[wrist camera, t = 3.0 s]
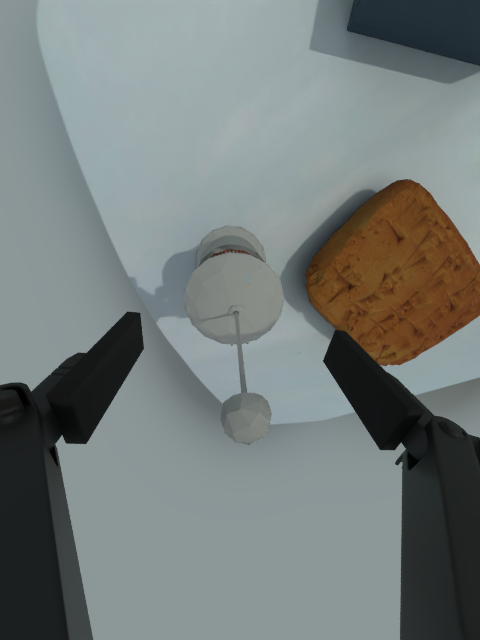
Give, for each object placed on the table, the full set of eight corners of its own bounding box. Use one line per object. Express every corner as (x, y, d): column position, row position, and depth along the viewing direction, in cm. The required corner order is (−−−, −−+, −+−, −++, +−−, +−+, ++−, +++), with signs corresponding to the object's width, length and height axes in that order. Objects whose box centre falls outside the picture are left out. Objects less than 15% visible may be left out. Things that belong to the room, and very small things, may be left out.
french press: (264, 221, 27) (448, 282, 5) (267, 303, 32) (356, 508, 10) (188, 229, 27) (11, 331, 5) (204, 310, 32) (158, 532, 10)
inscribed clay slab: (452, 285, 33) (515, 306, 26) (359, 352, 38) (390, 385, 31) (386, 167, 25) (450, 150, 18) (280, 272, 30) (297, 292, 23)
